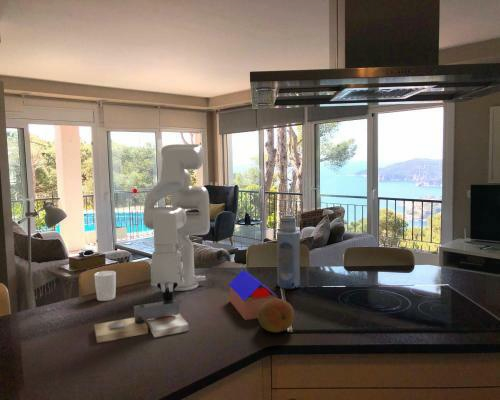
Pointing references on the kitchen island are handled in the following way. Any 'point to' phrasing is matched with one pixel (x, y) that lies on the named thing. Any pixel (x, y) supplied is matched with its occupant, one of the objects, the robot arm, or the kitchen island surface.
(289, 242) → the bottle
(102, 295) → the white cup
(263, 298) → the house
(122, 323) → the door and jamb
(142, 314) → the bar
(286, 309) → the fruit
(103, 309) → the kitchen island surface
